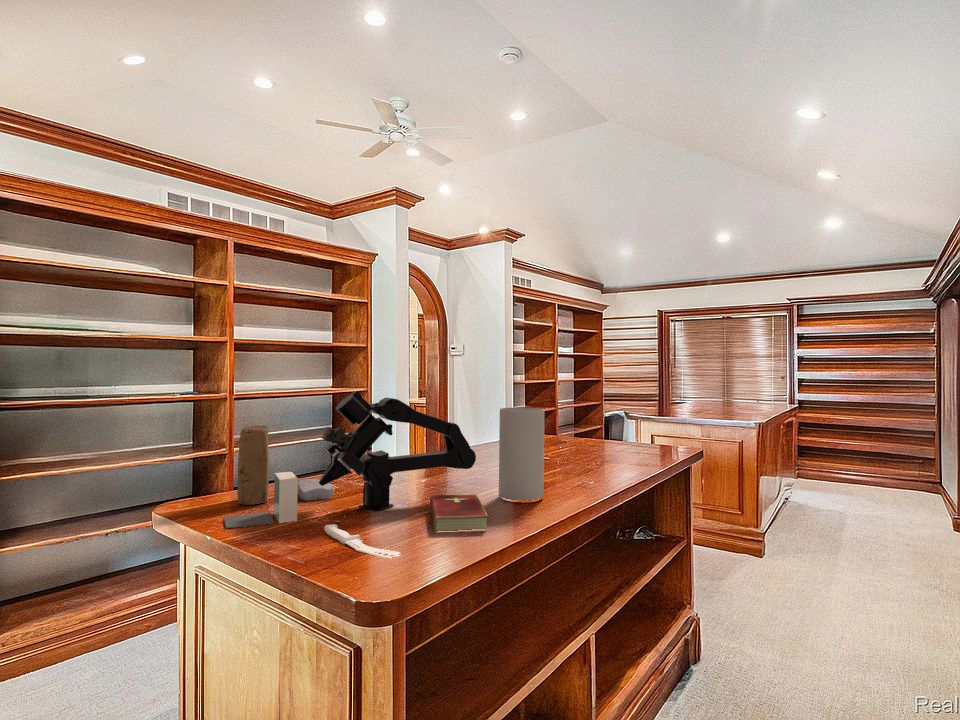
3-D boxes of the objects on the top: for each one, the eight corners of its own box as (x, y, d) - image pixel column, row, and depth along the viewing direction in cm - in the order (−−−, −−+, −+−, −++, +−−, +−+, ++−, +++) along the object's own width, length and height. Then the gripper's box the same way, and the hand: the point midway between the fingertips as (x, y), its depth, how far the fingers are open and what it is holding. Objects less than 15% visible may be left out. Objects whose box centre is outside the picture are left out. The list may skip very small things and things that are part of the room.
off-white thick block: (291, 512, 135) (291, 471, 135) (296, 521, 127) (297, 478, 127) (273, 514, 133) (274, 472, 133) (278, 523, 125) (279, 479, 125)
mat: (269, 513, 133) (269, 512, 133) (274, 523, 125) (274, 522, 125) (224, 518, 128) (224, 516, 128) (225, 529, 120) (226, 527, 120)
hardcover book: (434, 535, 119) (434, 516, 119) (429, 510, 140) (430, 494, 140) (488, 533, 121) (488, 514, 121) (476, 509, 141) (476, 493, 142)
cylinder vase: (498, 493, 159) (499, 407, 159) (541, 494, 158) (542, 407, 159) (498, 503, 146) (499, 410, 147) (545, 504, 146) (546, 411, 146)
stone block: (328, 496, 160) (293, 492, 156) (332, 480, 160) (297, 476, 156) (335, 507, 149) (298, 503, 145) (340, 490, 150) (302, 485, 145)
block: (267, 505, 141) (268, 428, 142) (235, 507, 139) (237, 428, 139) (269, 496, 151) (270, 424, 152) (240, 497, 149) (241, 424, 149)
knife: (431, 560, 101) (394, 569, 96) (430, 569, 101) (394, 578, 96) (354, 519, 124) (322, 524, 119) (354, 526, 124) (322, 532, 119)
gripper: (333, 412, 145) (290, 457, 140) (351, 418, 128) (302, 469, 123) (362, 440, 148) (321, 485, 143) (383, 449, 132) (337, 500, 127)
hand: (320, 484), depth 134 cm, fingers closed
